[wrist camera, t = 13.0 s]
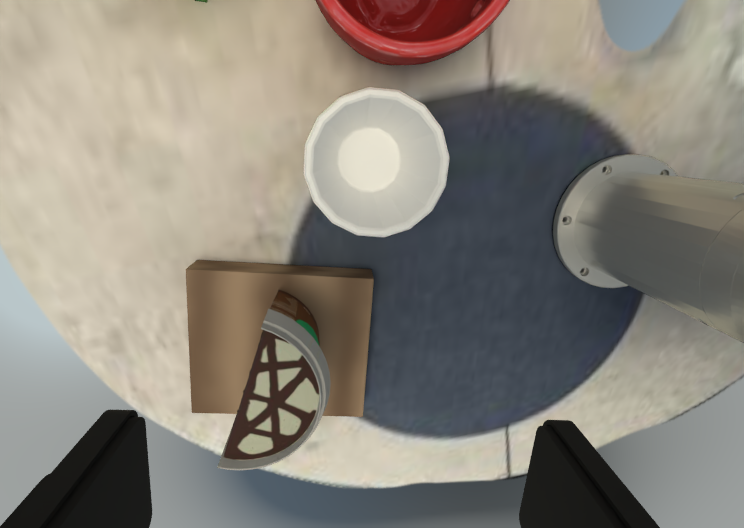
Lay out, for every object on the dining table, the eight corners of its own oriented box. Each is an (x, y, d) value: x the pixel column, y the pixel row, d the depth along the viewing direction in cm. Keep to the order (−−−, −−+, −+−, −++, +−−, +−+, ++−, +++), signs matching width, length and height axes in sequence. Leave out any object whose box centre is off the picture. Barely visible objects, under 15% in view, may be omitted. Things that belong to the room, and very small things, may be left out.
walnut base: (371, 269, 41) (373, 279, 38) (361, 398, 44) (362, 416, 41) (197, 259, 39) (185, 269, 36) (201, 394, 43) (191, 412, 40)
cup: (392, 77, 36) (409, 56, 27) (443, 182, 39) (474, 194, 30) (289, 136, 37) (273, 134, 28) (347, 235, 40) (349, 263, 31)
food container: (309, 410, 41) (299, 493, 31) (245, 393, 40) (215, 473, 30) (350, 294, 38) (354, 347, 28) (283, 273, 37) (263, 320, 27)
